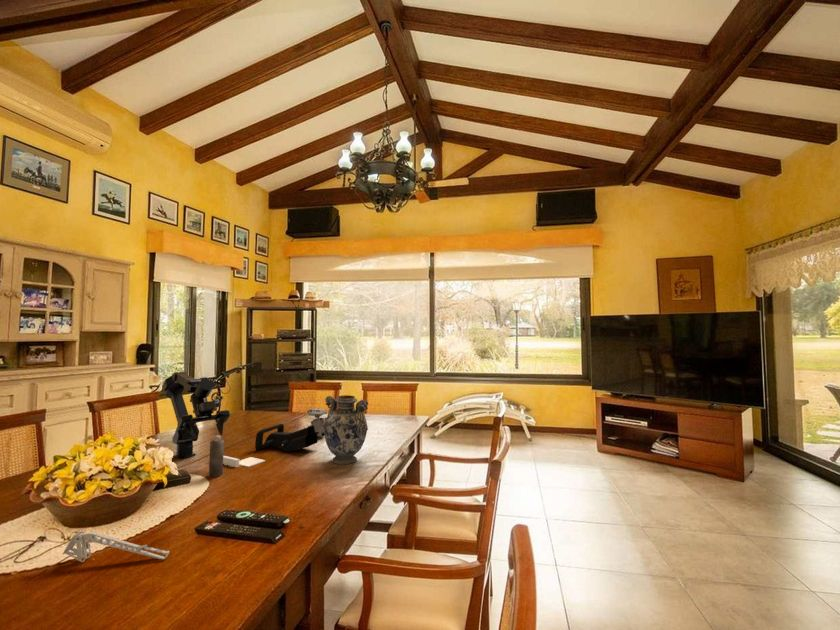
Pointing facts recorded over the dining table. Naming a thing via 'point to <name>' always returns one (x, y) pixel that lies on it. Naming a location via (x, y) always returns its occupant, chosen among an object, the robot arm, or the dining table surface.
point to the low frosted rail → (230, 461)
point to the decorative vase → (345, 427)
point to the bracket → (91, 537)
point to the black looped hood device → (287, 438)
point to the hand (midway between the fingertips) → (209, 436)
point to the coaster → (250, 462)
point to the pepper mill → (216, 457)
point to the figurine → (317, 420)
